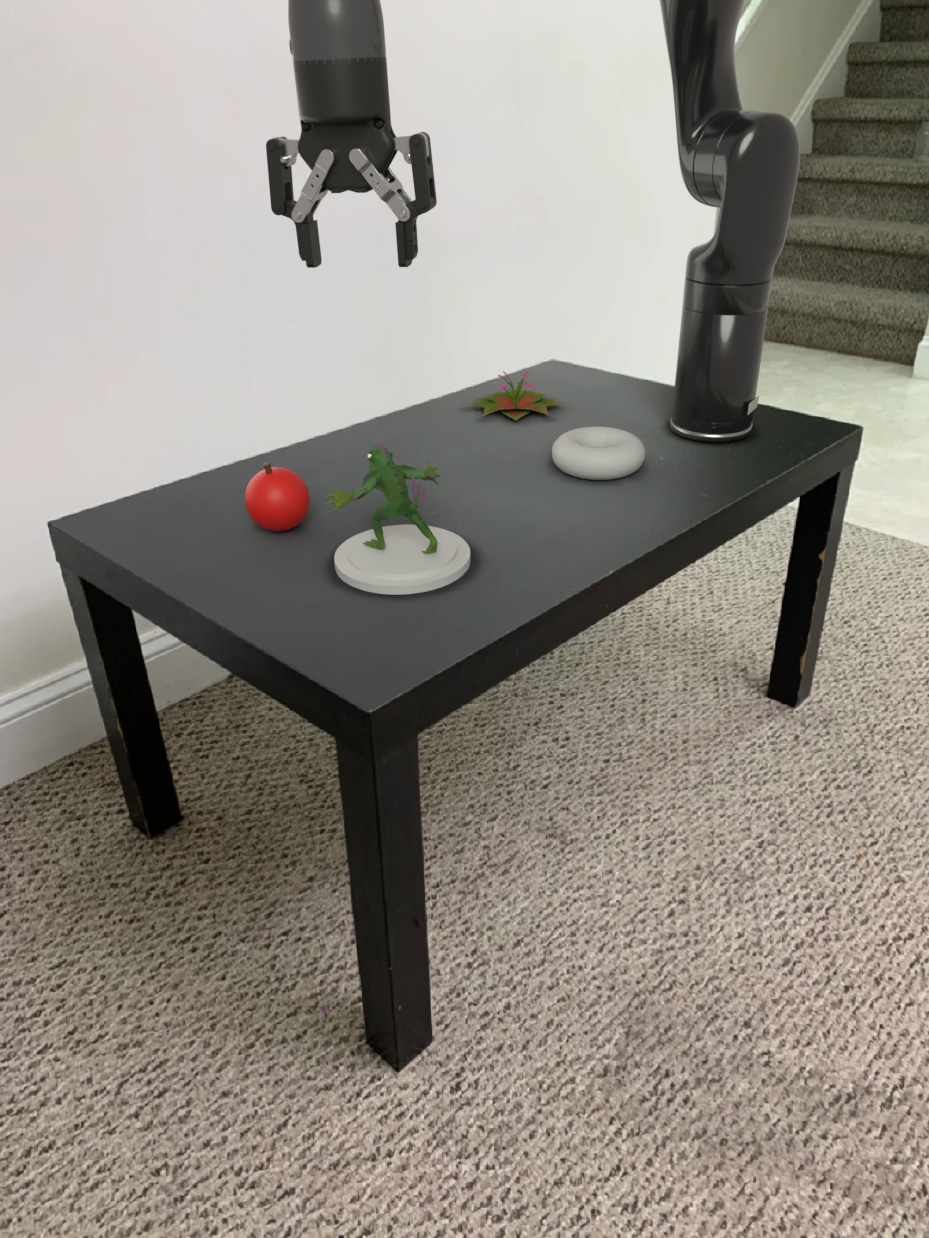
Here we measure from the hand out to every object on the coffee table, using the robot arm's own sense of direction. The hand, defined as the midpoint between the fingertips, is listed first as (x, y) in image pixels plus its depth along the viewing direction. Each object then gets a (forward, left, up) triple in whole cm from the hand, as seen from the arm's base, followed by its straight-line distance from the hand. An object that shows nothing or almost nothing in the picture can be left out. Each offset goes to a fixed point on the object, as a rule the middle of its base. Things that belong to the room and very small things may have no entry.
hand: (359, 266), depth 84 cm
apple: (+8, -7, -23) cm, 25 cm away
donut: (-12, +21, -23) cm, 33 cm away
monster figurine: (+13, +6, -23) cm, 27 cm away
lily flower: (-30, +9, -23) cm, 39 cm away
